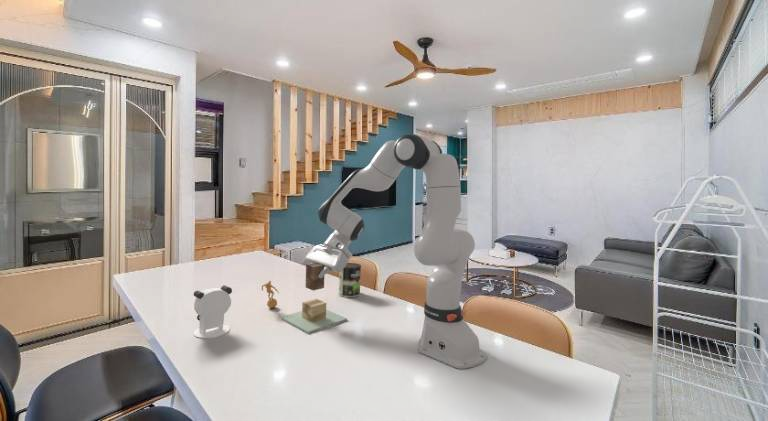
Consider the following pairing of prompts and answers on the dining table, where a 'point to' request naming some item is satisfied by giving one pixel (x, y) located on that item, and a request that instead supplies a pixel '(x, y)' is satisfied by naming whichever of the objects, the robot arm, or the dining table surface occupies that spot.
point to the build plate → (311, 327)
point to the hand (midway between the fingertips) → (313, 275)
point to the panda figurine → (212, 311)
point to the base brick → (314, 310)
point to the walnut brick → (314, 276)
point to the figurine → (271, 301)
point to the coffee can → (350, 280)
